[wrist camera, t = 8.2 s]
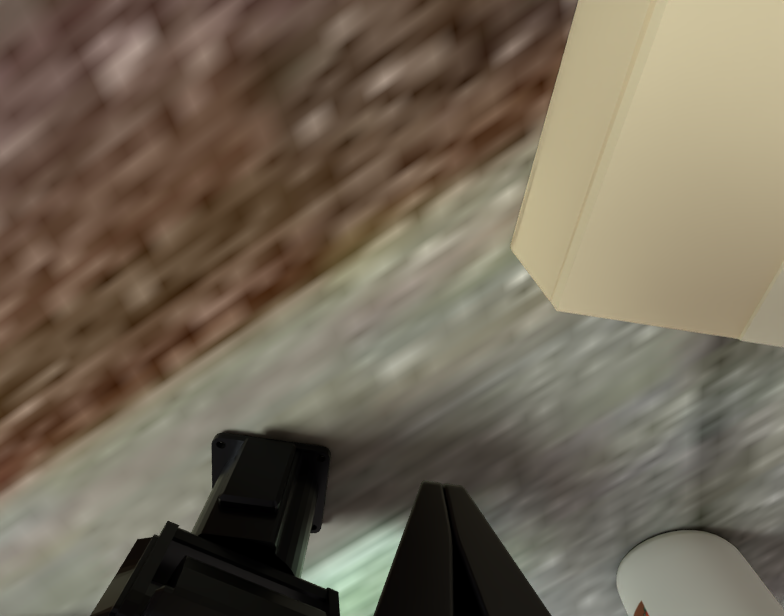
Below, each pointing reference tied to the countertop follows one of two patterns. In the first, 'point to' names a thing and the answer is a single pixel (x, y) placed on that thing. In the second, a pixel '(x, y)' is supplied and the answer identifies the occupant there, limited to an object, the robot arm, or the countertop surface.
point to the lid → (691, 181)
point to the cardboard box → (577, 131)
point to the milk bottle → (692, 579)
